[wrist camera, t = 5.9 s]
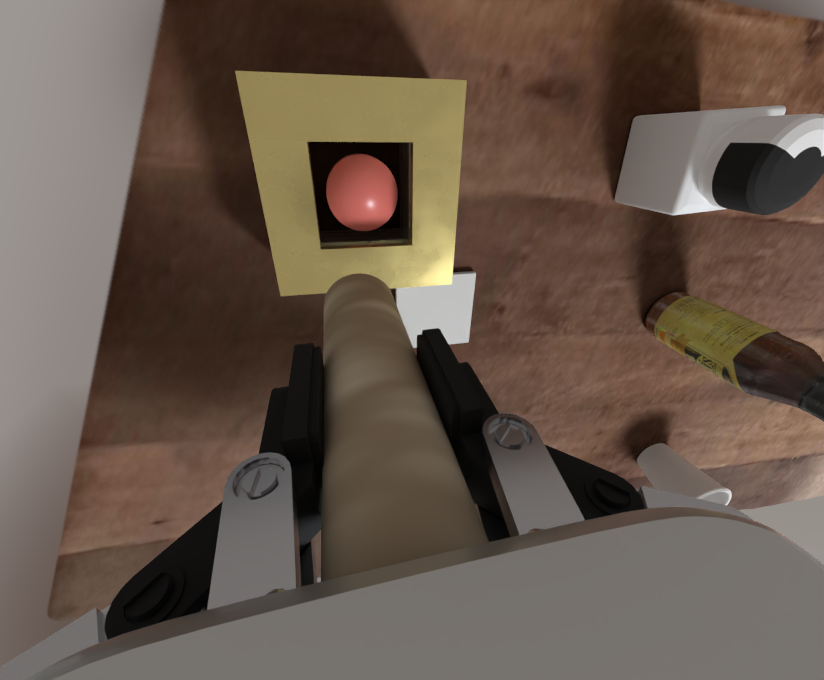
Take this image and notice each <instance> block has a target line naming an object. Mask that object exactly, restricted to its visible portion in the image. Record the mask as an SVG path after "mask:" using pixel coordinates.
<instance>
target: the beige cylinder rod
mask: <svg viewBox="0 0 824 680" xmlns="http://www.w3.org/2000/svg"><path fill="white" fill-rule="evenodd" d="M323 364H324V464H323V468H322V528H321V582H323V581H327V580H331V579H335V578H340V577H344V576H348V575H352V574H356V573H360V572H365V571H369V570H373V569H377V568H381V567H386V566H390V565H394V564H398V563H403V562H407V561H411V560H415V559H420V558H424V557H428V556H432V555H437V554H441V553H445V552H449V551H454V550H458V549H462V548H466V547H471V546H475V545H479V544H483V543H488V542H489V540H488V538H487V535H486V533H485V530H484V528H483V525H482V522H481V520H480V517H479V515H478V512H477V510H476V507H475V505H474V502H473V499H472V497H471V494H470V492H469V489H468V487H467V484H466V482H465V479H464V476H463V474H462V471H461V469H460V466H459V464H458V461H457V459H456V456H455V454H454V451H453V448H452V446H451V443H450V441H449V438H448V436H447V433H446V431H445V428H444V426H443V423H442V420H441V418H440V415H439V413H438V410H437V408H436V405H435V403H434V400H433V397H432V395H431V392H430V390H429V387H428V385H427V382H426V380H425V377H424V374H423V372H422V369H421V367H420V364H419V362H418V359H417V356H416V354H415V351H414V349H413V346H412V344H411V341H410V339H409V336H408V333H407V331H406V328H405V326H404V323H403V321H402V318H401V316H400V313H399V310H398V308H397V305H396V303H395V300H394V298H393V295H392V293H391V291H390V289H389V287H388V286H387V285H386V284H385V283H384V282H383V281H382V280H380V279H379V278H377V277H375V276H372V275H369V274H362V273H358V274H351V275H347V276H345V277H342V278H341V279H339V280H337V281H336V282H335V283H334V284H333V285H332V286H331V287H330V288H329V290H328V292H327V293H326V296H325V300H324V337H323Z"/></svg>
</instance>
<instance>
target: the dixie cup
mask: <svg viewBox="0 0 824 680" xmlns="http://www.w3.org/2000/svg"><path fill="white" fill-rule="evenodd" d="M637 464H638V466H639V467H640V468H641V470H642V471H643V472H644V474H645V475H646V476H647V478H648V479H649V480H650V482H651V483H652V484H653V486H654V487H655V488H656V489H658V490H662V491H667V492H671V493H675V494H680V495H684V496H689V497H693V498H697V499H702V500H706V501H711V502H715V503H720V504H724V505H727V504H728V503H729V501H730V499H731V495H732V494H731V491H730V490H729V489H727V488H724V487H723V486H721V485H720V484H718V483H717V482H716V481H714V480H713V479H712V478H710V477H709V476H708V475H706V474H705V473H704V472H702V471H701V470H700V469H698V468H697V467H695V466H694V465H693V464H691V463H690V462H689V461H687V460H686V459H685V458H683V457H682V456H681V455H679V454H678V453H677V452H675V451H674V450H672V449H671V448H670V447H668V446H667V445H666V444H664V443H658V444H654V445H652V446H650V447H648V448H646V449H645V450H644V451H643V452H642V453H641V454H640V455H639V456H638V458H637Z"/></svg>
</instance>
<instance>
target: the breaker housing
mask: <svg viewBox="0 0 824 680" xmlns="http://www.w3.org/2000/svg"><path fill="white" fill-rule="evenodd" d="M235 73H236V78H237V83H238V88H239V93H240V98H241V103H242V108H243V113H244V118H245V123H246V128H247V133H248V138H249V143H250V147H251V152H252V157H253V162H254V167H255V172H256V177H257V182H258V187H259V192H260V197H261V202H262V207H263V212H264V216H265V221H266V226H267V231H268V236H269V241H270V246H271V251H272V256H273V261H274V266H275V271H276V276H277V281H278V286H279V290H280V295H281V296H291V295H305V294H320V293H327V292H328V290H329V288H330V287H331V286H332V285H333V284H334V283H335V282H336V281H337V280H339V279H341V278H342V277H345V276H347V275H351V274H358V273H362V274H369V275H372V276H375V277H377V278H379V279H380V280H382V281H383V282H384V283H385V284H386V285H387V286H388V287H389V289H392V288H407V287H421V286H436V285H450V284H452V277H453V263H454V249H455V235H456V221H457V208H458V194H459V180H460V166H461V153H462V139H463V125H464V111H465V97H466V84H467V80H446V79H422V78H398V77H374V76H350V75H326V74H302V73H278V72H254V71H235ZM309 142H399V173H400V228H388V229H374V230H370V231H357V230H334V231H320V226H319V218H318V210H317V202H316V194H315V186H314V179H313V171H312V163H311V155H310V147H309Z"/></svg>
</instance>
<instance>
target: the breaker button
mask: <svg viewBox="0 0 824 680" xmlns="http://www.w3.org/2000/svg"><path fill="white" fill-rule="evenodd" d="M326 195H327V201H328V204H329V207H330V209H331V211H332V213H333V214H334V216H335V217H336V218H337V219H338V220H339V221H340V222H341V223H342V224H343V225H345V226H347V227H348V228H351V229H354V230H357V231H370V230H374V229H376V228H379V227H380V226H382V225H383V224H385V223H386V222H387V221H388V220H389V219H390V217H391V216H392V214H393V212H394V210H395V208H396V204H397V199H398V191H397V185H396V182H395V179H394V177H393V175H392V173H391V171H390V170H389V169H388V168H387V166H386V165H385V164H383V163H382V162H381V161H379V160H378V159H376V158H374V157H372V156H369V155H367V154H362V153H354V154H349V155H347V156H344V157H343V158H341V159H340V160H338V161H337V162H336V163H335V164H334V166H333V167H332V169H331V171H330V173H329V175H328V179H327V188H326Z"/></svg>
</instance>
